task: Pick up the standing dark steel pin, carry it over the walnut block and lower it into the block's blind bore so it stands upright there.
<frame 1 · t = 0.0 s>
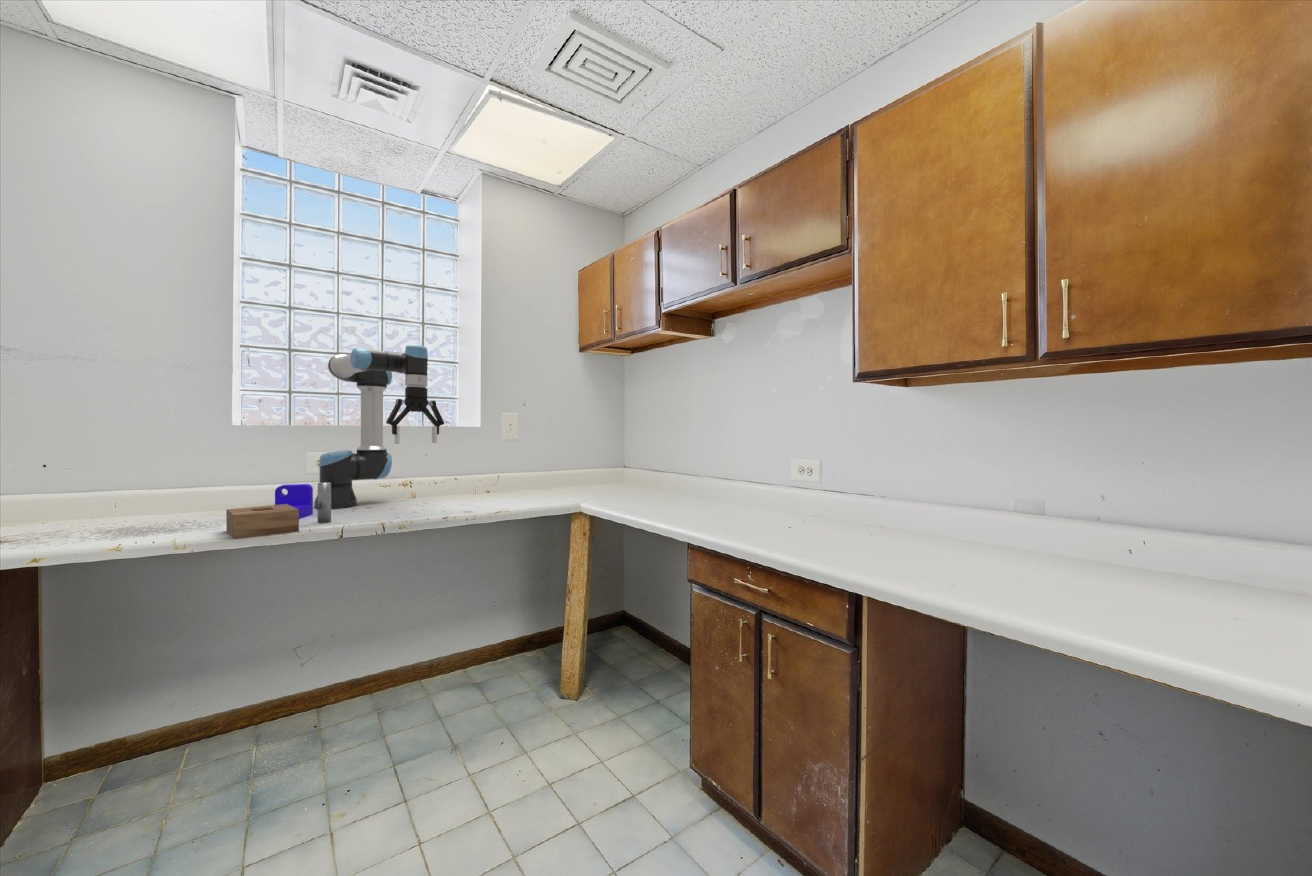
hand: (416, 443, 185), 28 cm above the counter, fingers open, 13 cm apart
bore block: (262, 530, 159), on the counter
bracket: (289, 519, 181), on the counter
pin: (324, 521, 175), on the counter
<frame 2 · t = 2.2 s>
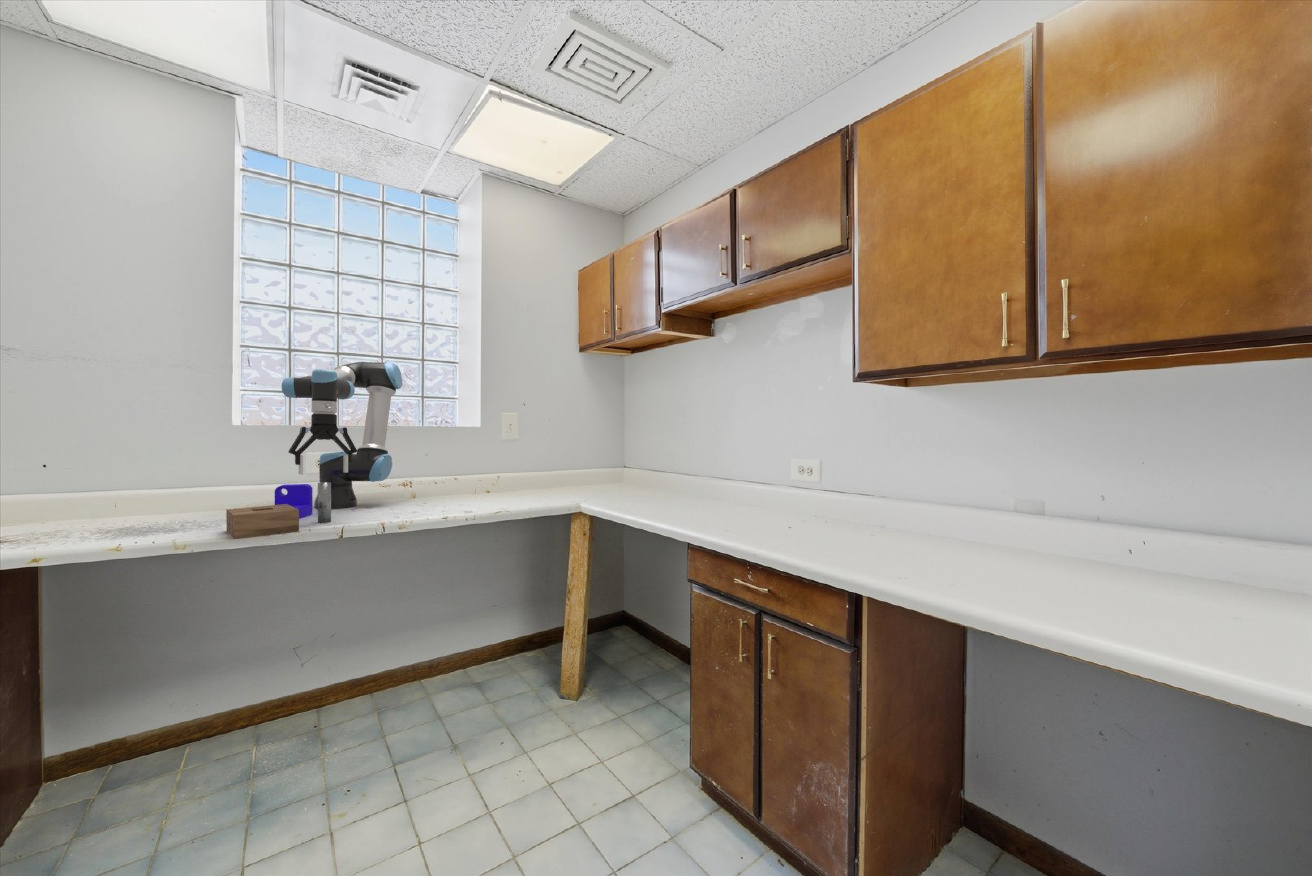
hand: (323, 473, 175), 17 cm above the counter, fingers open, 13 cm apart
nothing on the counter moved.
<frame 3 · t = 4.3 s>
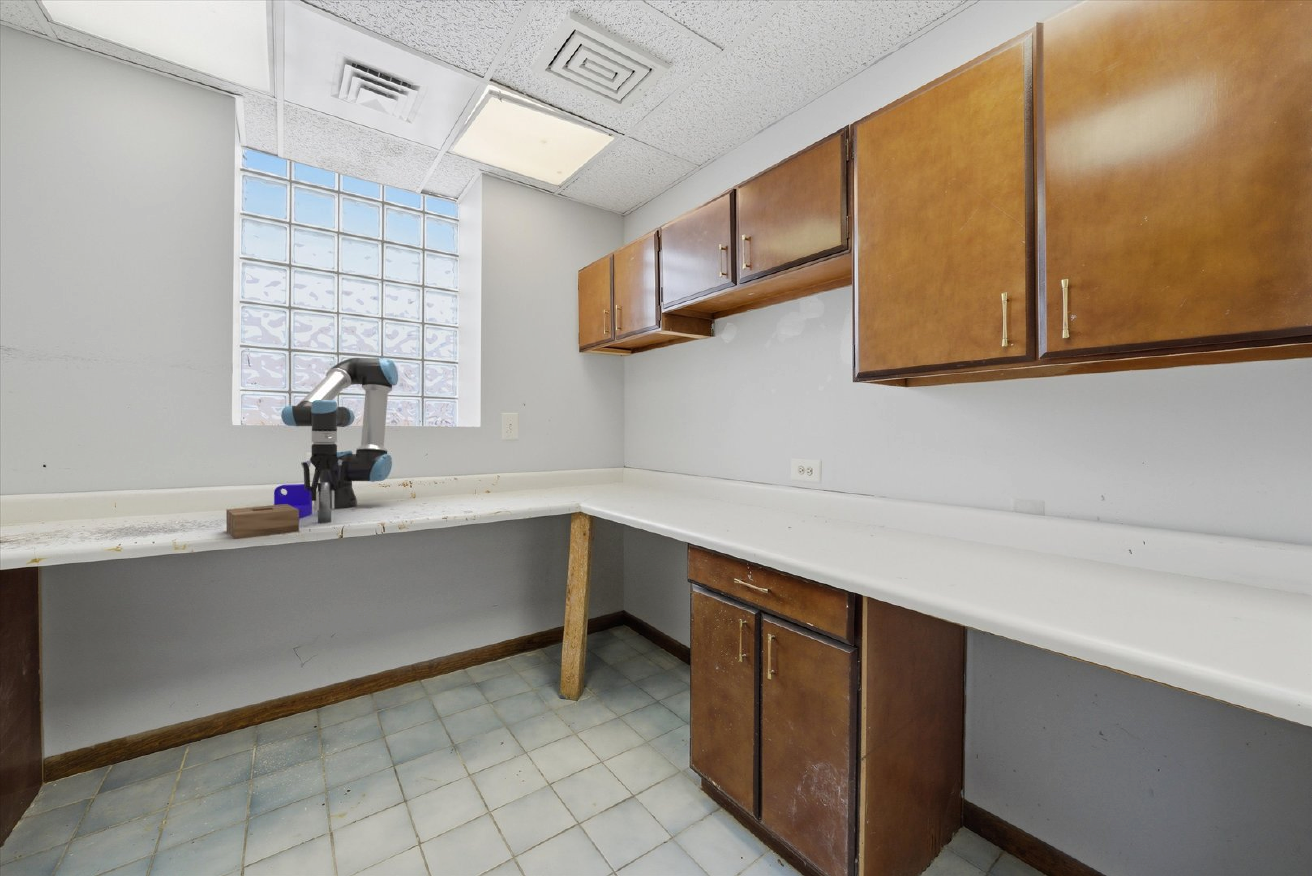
hand: (324, 508, 175), 5 cm above the counter, fingers closed on pin, 4 cm apart
pin: (324, 521, 175), on the counter, touching gripper
everything else where it was.
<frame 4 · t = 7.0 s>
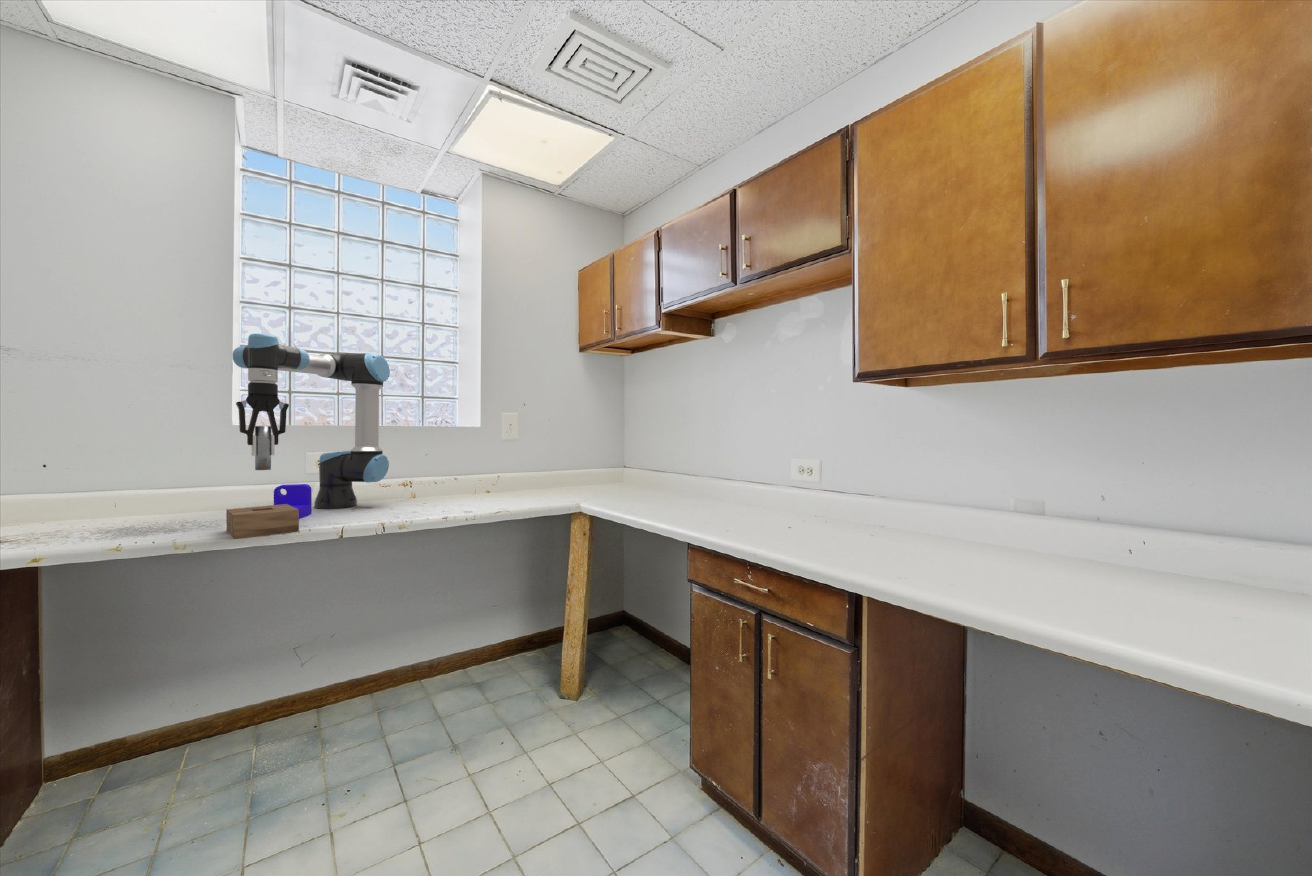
hand: (263, 455, 159), 25 cm above the counter, fingers closed on pin, 4 cm apart
pin: (263, 469, 159), point 20 cm above the counter, touching gripper
everything else where it was.
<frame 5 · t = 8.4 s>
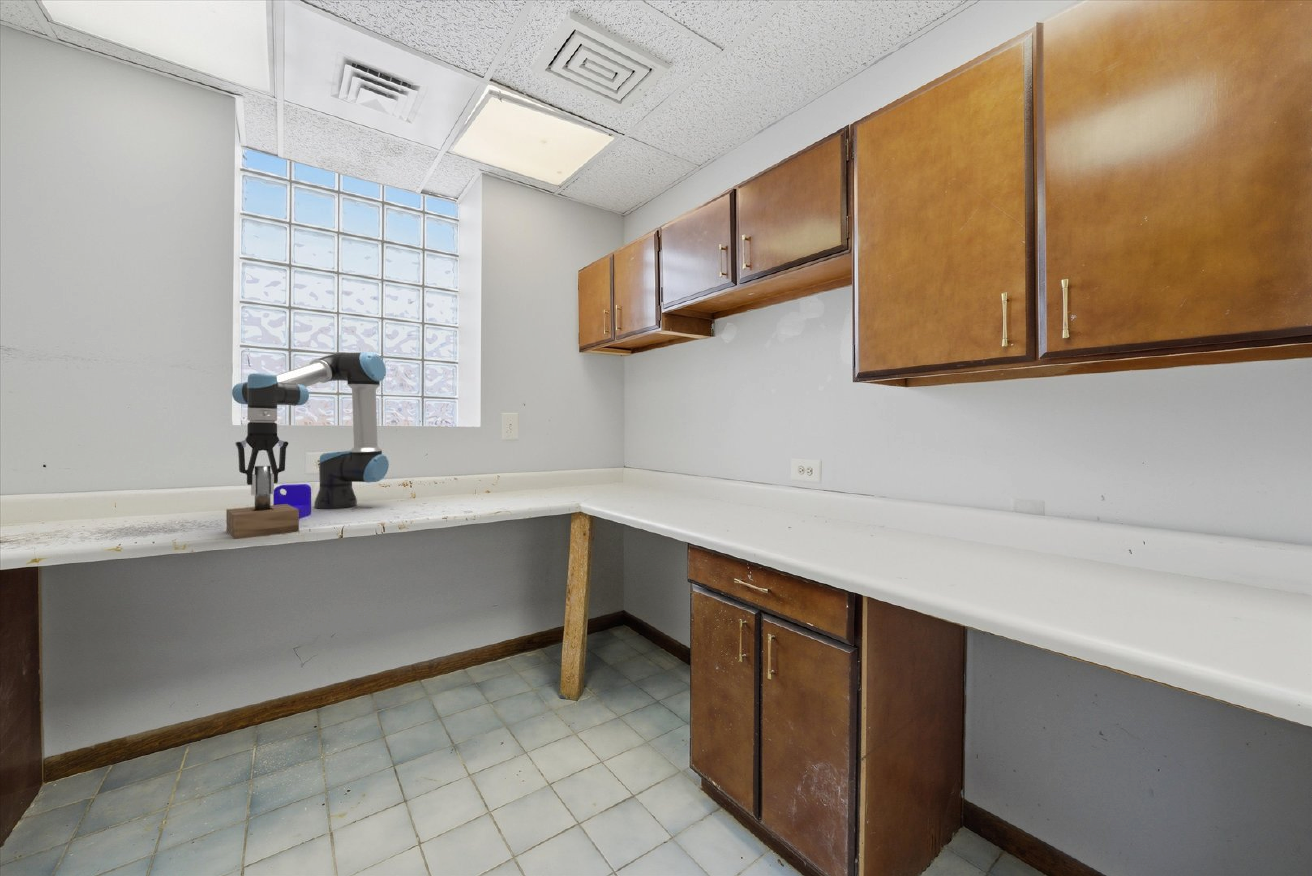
hand: (262, 494, 159), 12 cm above the counter, fingers closed on pin, 4 cm apart
pin: (262, 509, 159), point 7 cm above the counter, touching gripper
everything else where it was.
when the fingers open (8 cm above the counter, at t = 9.7 s): pin stays where it is, resting on bore block.
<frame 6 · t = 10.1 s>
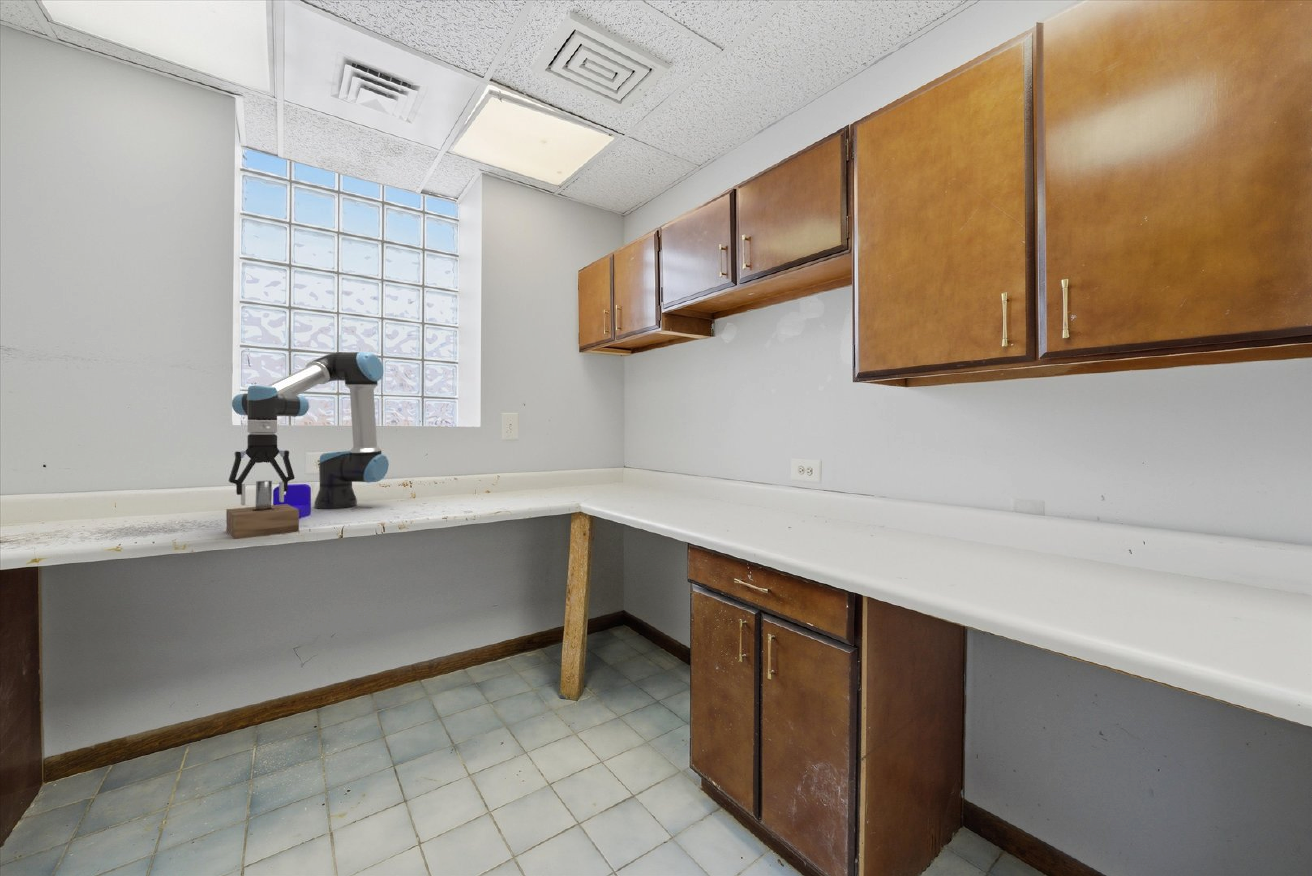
hand: (262, 503, 159), 9 cm above the counter, fingers open, 9 cm apart
pin: (263, 524, 159), point 2 cm above the counter, touching bore block
everything else where it was.
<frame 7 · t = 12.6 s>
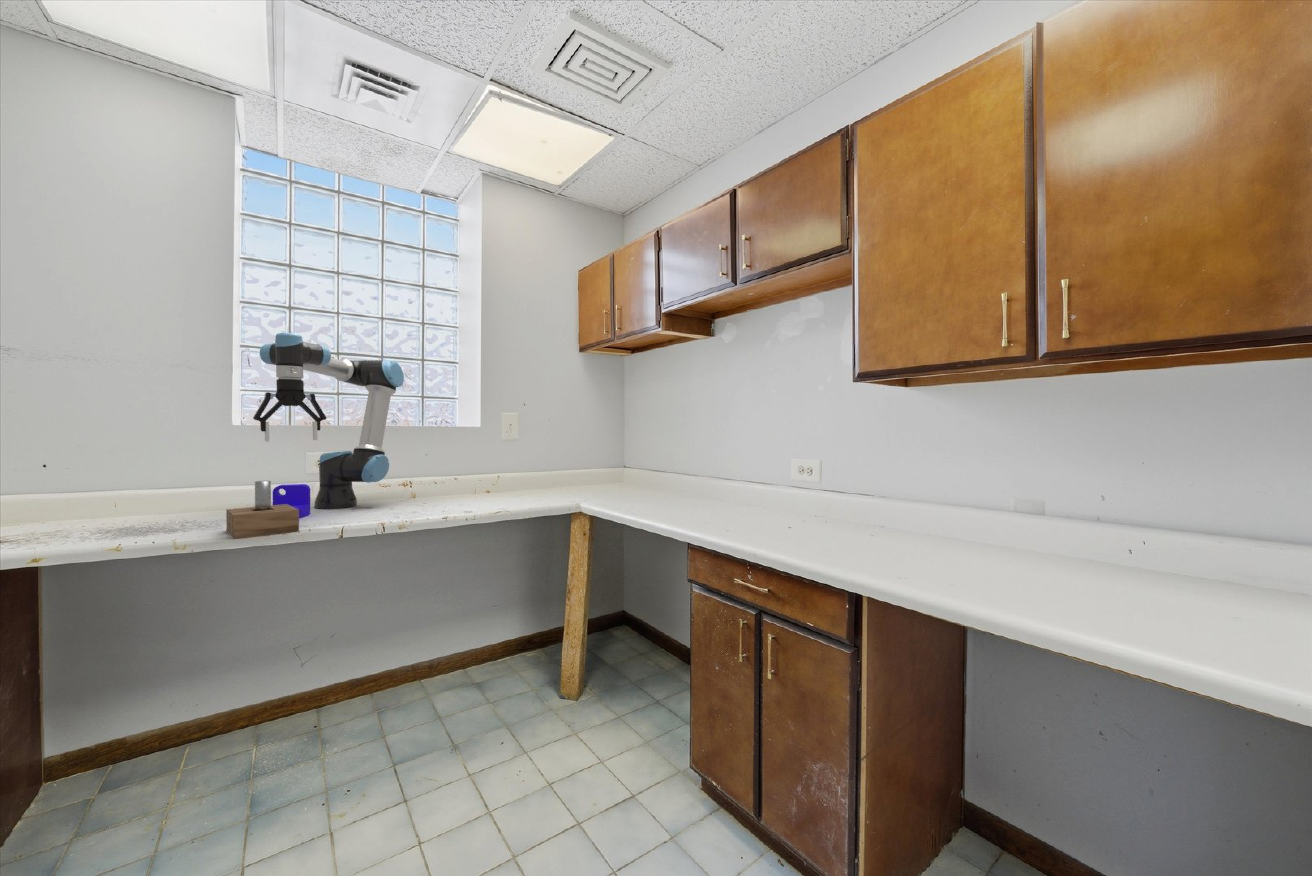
hand: (291, 440, 170), 29 cm above the counter, fingers open, 13 cm apart
nothing on the counter moved.
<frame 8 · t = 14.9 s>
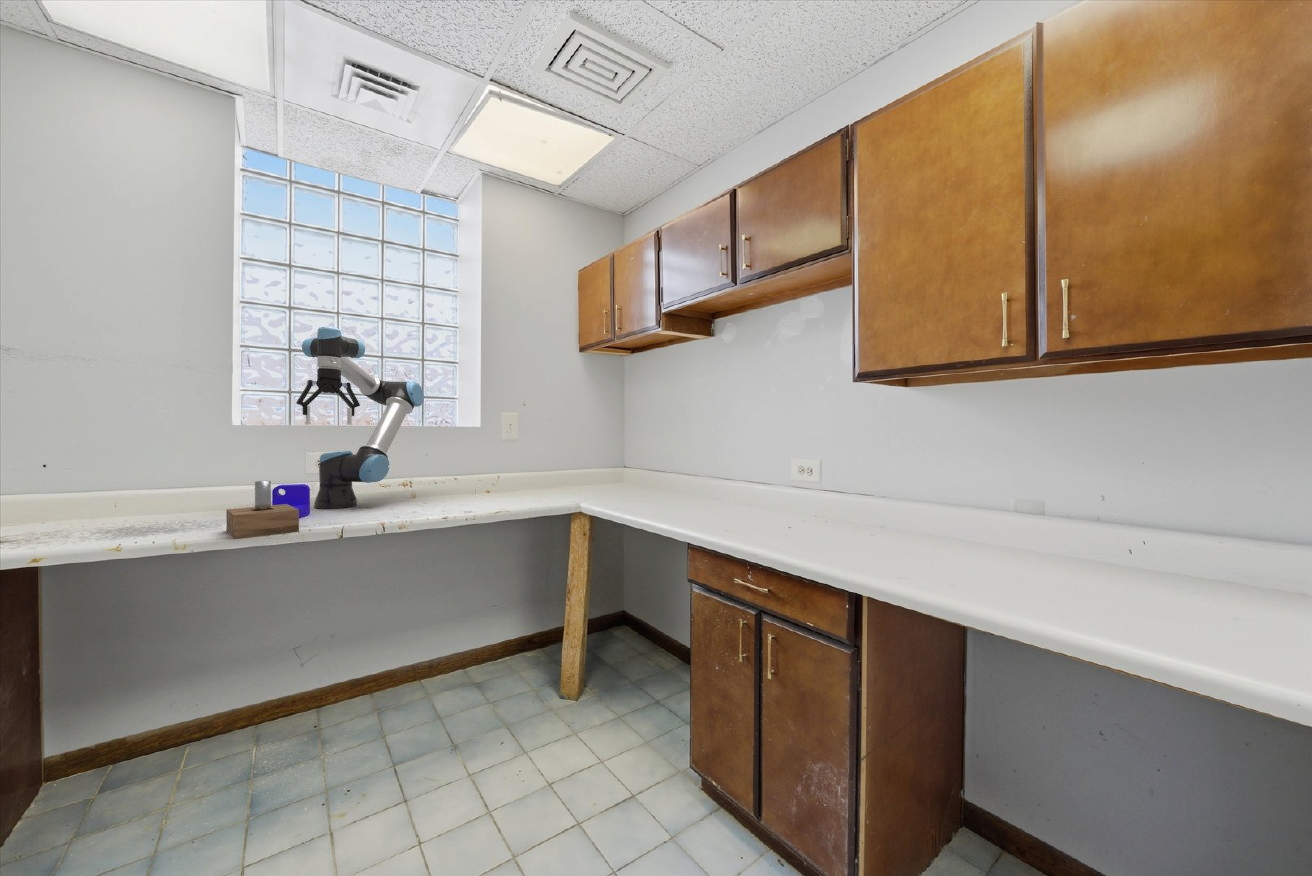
hand: (329, 424, 188), 35 cm above the counter, fingers open, 13 cm apart
nothing on the counter moved.
at the end: pin 0.0 cm off-centre on the bore block, point 2.1 cm above the bore block's base; pin tilted 0°; the gripper is holding nothing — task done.
